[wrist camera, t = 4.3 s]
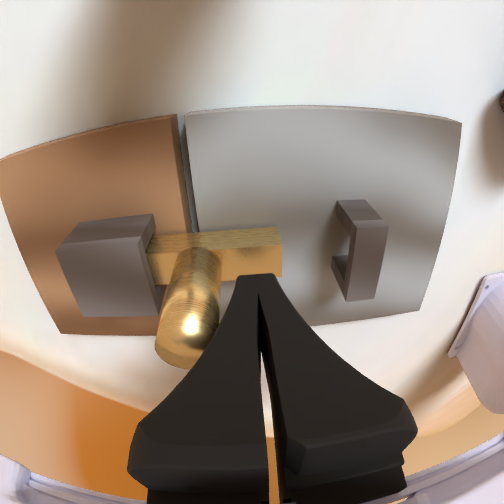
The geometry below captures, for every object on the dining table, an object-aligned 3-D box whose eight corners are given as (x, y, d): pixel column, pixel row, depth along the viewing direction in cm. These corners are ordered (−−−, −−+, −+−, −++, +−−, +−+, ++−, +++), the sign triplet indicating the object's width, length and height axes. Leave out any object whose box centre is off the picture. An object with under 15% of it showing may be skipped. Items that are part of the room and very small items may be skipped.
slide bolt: (277, 260, 15) (298, 362, 10) (102, 271, 15) (58, 362, 9) (277, 222, 14) (301, 320, 9) (91, 238, 14) (34, 326, 8)
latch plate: (410, 296, 19) (436, 339, 15) (68, 318, 19) (47, 363, 15) (445, 117, 13) (497, 136, 9) (6, 155, 12) (-41, 183, 9)
